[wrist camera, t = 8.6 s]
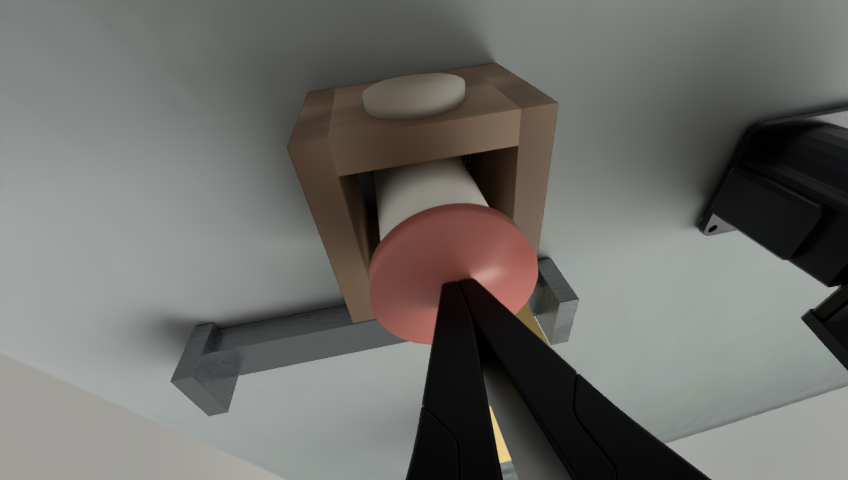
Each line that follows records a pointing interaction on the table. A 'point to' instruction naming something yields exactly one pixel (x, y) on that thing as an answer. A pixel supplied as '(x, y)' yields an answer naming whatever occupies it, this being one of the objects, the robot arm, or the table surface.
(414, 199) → the plunger
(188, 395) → the rail
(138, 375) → the table surface
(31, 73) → the table surface
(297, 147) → the brown wooden box
